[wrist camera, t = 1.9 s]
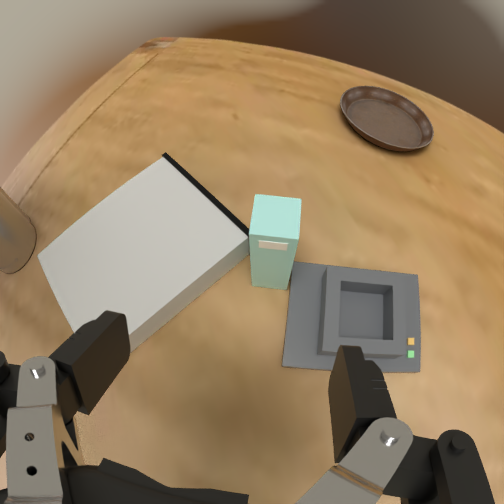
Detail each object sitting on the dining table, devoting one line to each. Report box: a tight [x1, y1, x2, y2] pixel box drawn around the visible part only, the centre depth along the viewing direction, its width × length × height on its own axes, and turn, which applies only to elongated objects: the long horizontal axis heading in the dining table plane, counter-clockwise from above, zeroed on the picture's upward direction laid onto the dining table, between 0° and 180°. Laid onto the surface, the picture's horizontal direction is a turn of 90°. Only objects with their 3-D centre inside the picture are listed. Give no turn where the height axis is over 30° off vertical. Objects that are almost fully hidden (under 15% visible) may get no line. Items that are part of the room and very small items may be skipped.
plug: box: [249, 194, 301, 290], centre depth 31 cm, size 4×4×12 cm
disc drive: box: [37, 153, 250, 353], centre depth 36 cm, size 18×22×5 cm
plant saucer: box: [340, 86, 434, 151], centre depth 47 cm, size 18×18×3 cm
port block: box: [282, 261, 421, 373], centre depth 32 cm, size 16×12×4 cm
